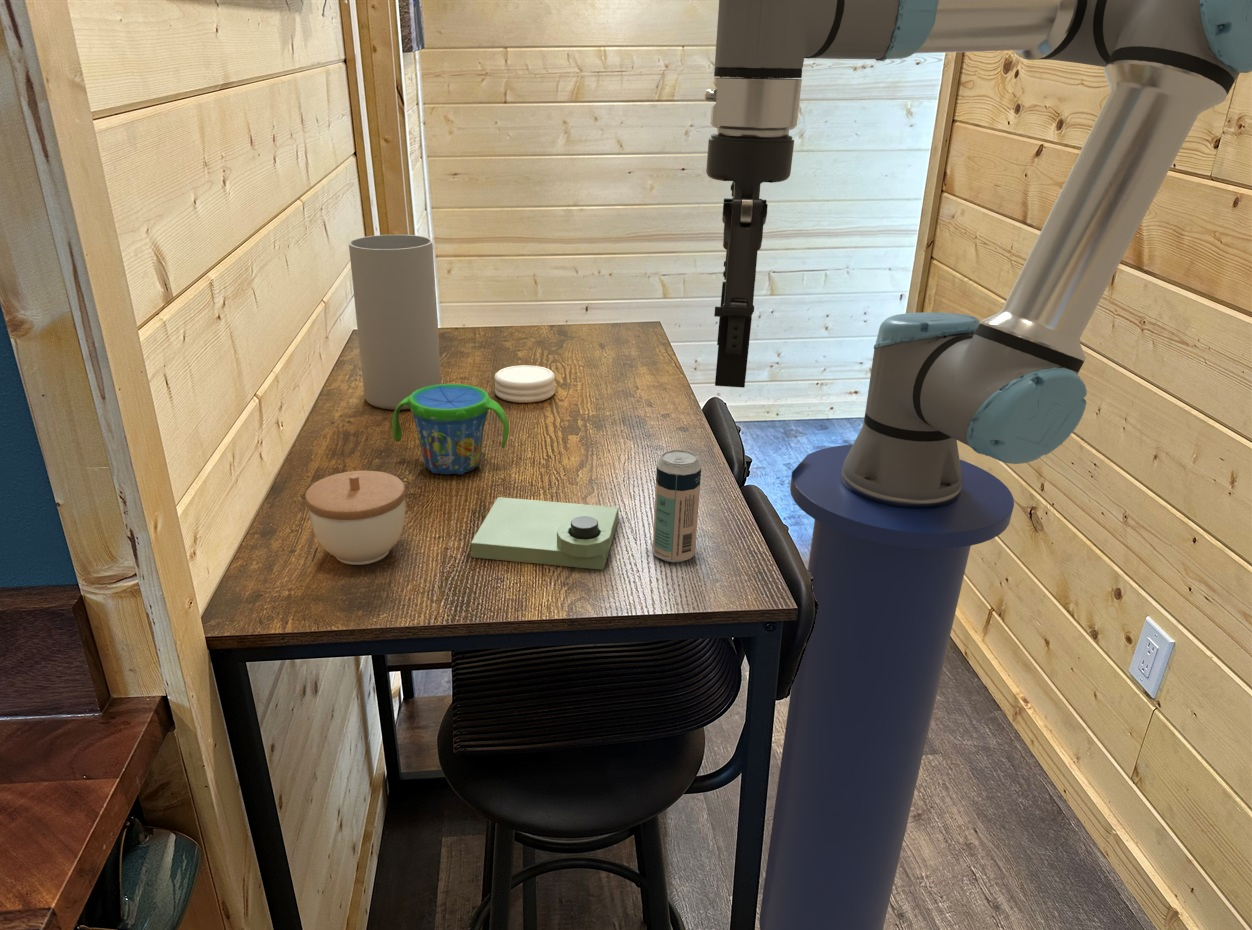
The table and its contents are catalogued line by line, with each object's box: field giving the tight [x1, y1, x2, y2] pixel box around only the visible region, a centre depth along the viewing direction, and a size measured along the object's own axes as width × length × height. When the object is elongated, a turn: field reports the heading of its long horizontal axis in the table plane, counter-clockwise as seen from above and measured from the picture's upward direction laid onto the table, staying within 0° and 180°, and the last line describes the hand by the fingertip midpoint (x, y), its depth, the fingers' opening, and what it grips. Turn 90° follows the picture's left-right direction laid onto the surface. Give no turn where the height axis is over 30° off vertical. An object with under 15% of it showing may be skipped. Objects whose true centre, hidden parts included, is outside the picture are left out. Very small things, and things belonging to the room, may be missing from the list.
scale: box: [470, 496, 620, 571], centre depth 105 cm, size 15×13×4 cm
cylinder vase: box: [348, 234, 442, 411], centre depth 144 cm, size 12×12×25 cm
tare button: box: [571, 516, 598, 540], centre depth 100 cm, size 3×3×2 cm
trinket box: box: [304, 470, 406, 566], centre depth 101 cm, size 11×11×9 cm
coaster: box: [494, 364, 556, 404], centre depth 151 cm, size 10×10×4 cm
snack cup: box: [391, 383, 510, 476], centre depth 123 cm, size 16×10×10 cm
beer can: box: [652, 449, 702, 563], centre depth 100 cm, size 5×5×12 cm
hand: (729, 364), depth 90 cm, fingers open, 13 cm apart
